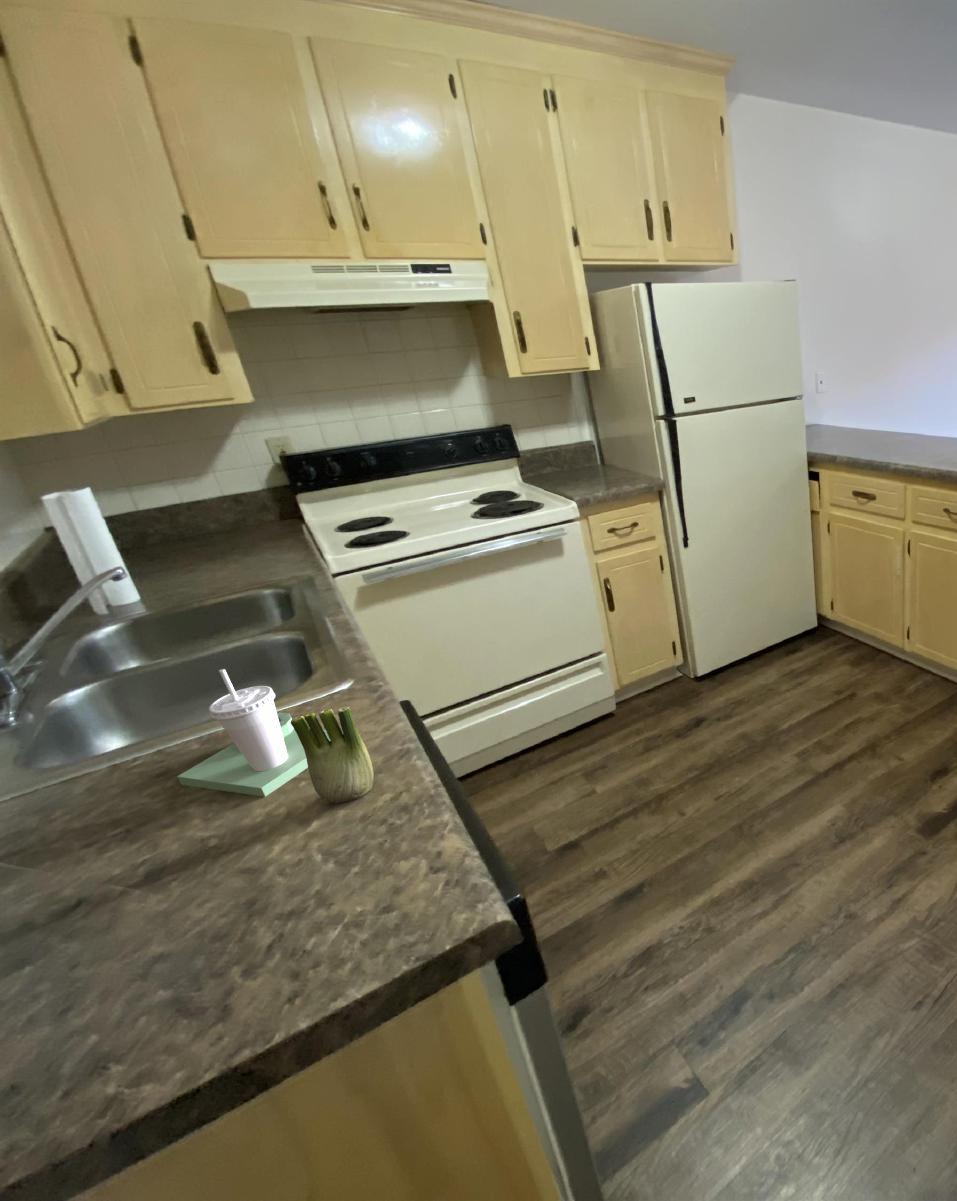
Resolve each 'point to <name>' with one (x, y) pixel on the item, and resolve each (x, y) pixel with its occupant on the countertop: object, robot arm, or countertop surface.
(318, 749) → the fennel bulb
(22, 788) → the countertop surface
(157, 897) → the countertop surface
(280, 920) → the countertop surface
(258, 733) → the smoothie
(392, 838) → the countertop surface
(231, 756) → the scale
